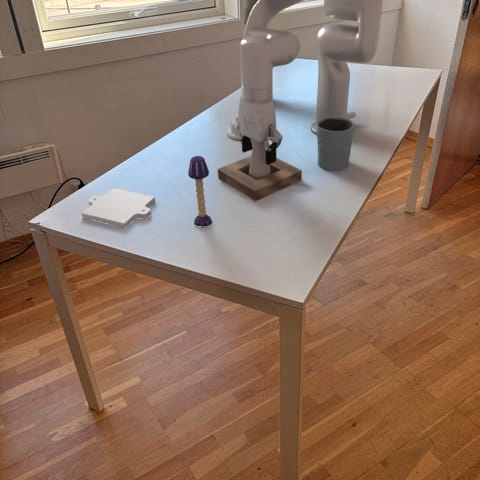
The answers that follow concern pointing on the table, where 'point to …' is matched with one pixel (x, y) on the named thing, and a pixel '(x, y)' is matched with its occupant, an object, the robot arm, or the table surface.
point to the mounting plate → (119, 207)
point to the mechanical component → (233, 131)
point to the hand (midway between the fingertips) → (258, 156)
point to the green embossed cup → (334, 143)
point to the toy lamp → (199, 188)
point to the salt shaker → (258, 161)
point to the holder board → (261, 188)
